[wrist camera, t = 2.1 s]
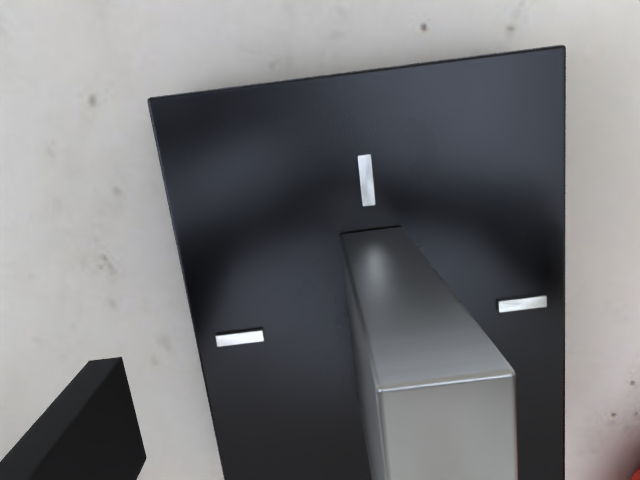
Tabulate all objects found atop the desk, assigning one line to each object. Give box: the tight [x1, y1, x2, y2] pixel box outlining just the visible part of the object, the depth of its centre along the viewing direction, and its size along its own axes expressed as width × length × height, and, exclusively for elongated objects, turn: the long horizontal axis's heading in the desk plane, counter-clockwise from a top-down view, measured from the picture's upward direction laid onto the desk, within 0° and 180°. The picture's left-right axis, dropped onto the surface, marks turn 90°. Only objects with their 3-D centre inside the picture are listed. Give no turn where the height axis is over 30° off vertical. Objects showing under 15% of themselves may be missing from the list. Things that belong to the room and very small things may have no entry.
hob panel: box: [147, 45, 566, 480], centre depth 16 cm, size 14×11×3 cm
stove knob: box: [340, 227, 518, 480], centre depth 11 cm, size 6×2×8 cm, turn 7°
